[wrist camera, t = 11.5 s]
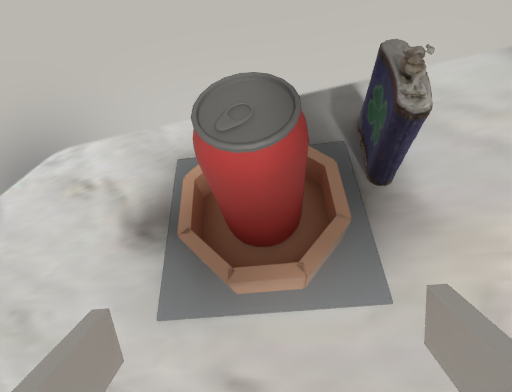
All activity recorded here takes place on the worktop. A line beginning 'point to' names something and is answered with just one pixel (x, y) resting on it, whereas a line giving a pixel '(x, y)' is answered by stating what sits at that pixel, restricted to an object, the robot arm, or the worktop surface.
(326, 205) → the dish
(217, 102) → the beer can
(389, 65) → the flask
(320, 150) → the mat
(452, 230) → the worktop surface
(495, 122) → the worktop surface
